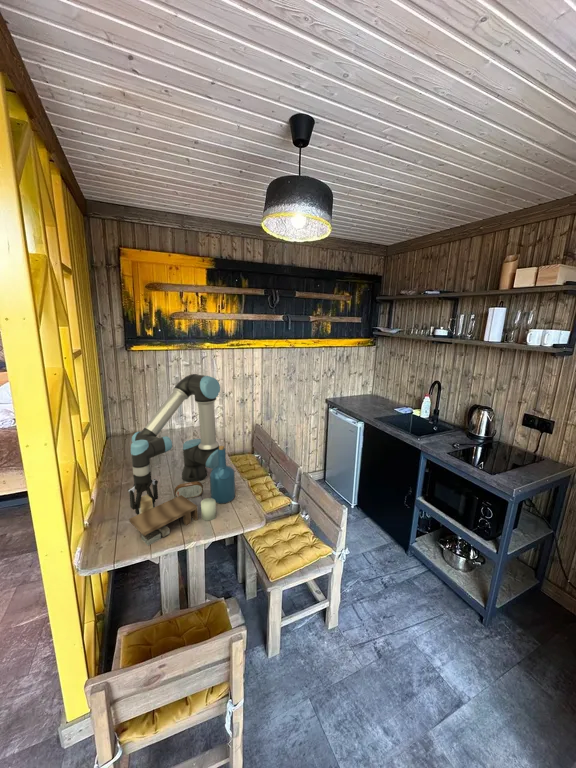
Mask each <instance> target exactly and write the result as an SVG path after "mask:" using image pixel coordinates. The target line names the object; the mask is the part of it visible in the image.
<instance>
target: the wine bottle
mask: <svg viewBox="0 0 576 768" xmlns="http://www.w3.org/2000/svg"><path fill="white" fill-rule="evenodd" d="M226 456H227V453H226V448H225V445H219V449H218V466H216V467H215V468H213V469H211V470H210V475H209V486H210V487H209V489H210V491H209V492H210V498H212V499H215V501H216V504H218V505H219V504H227V503H230V502H232V501H234V499H235V497H236V478H235V477H236V475H235V470H234V468H233V467H231V466H230V465H227V457H226Z"/></svg>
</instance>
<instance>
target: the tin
mask: <svg viewBox="0 0 576 768" xmlns="http://www.w3.org/2000/svg"><path fill="white" fill-rule="evenodd" d="M173 491H174V496H175V498H176V497H178V496H180V495H182V496H184V497H185V498H186V499H193V498H197V497H199V496H201V495H202V494H203V492H204V485H203V483H202V482H200V481H197V482H184V483H179V484H178V485H177V486H176V487H175V488H174V490H173Z"/></svg>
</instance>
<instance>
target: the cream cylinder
mask: <svg viewBox="0 0 576 768" xmlns="http://www.w3.org/2000/svg"><path fill="white" fill-rule="evenodd" d="M216 505H217V503H216V501H215V499H212V498H211V497H207V498H204V499H202V500H201V501H200V512H201V514H200V516H201V520H202V521H205V522H211V521H213V520H215V519H216V518H217V506H216Z"/></svg>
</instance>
